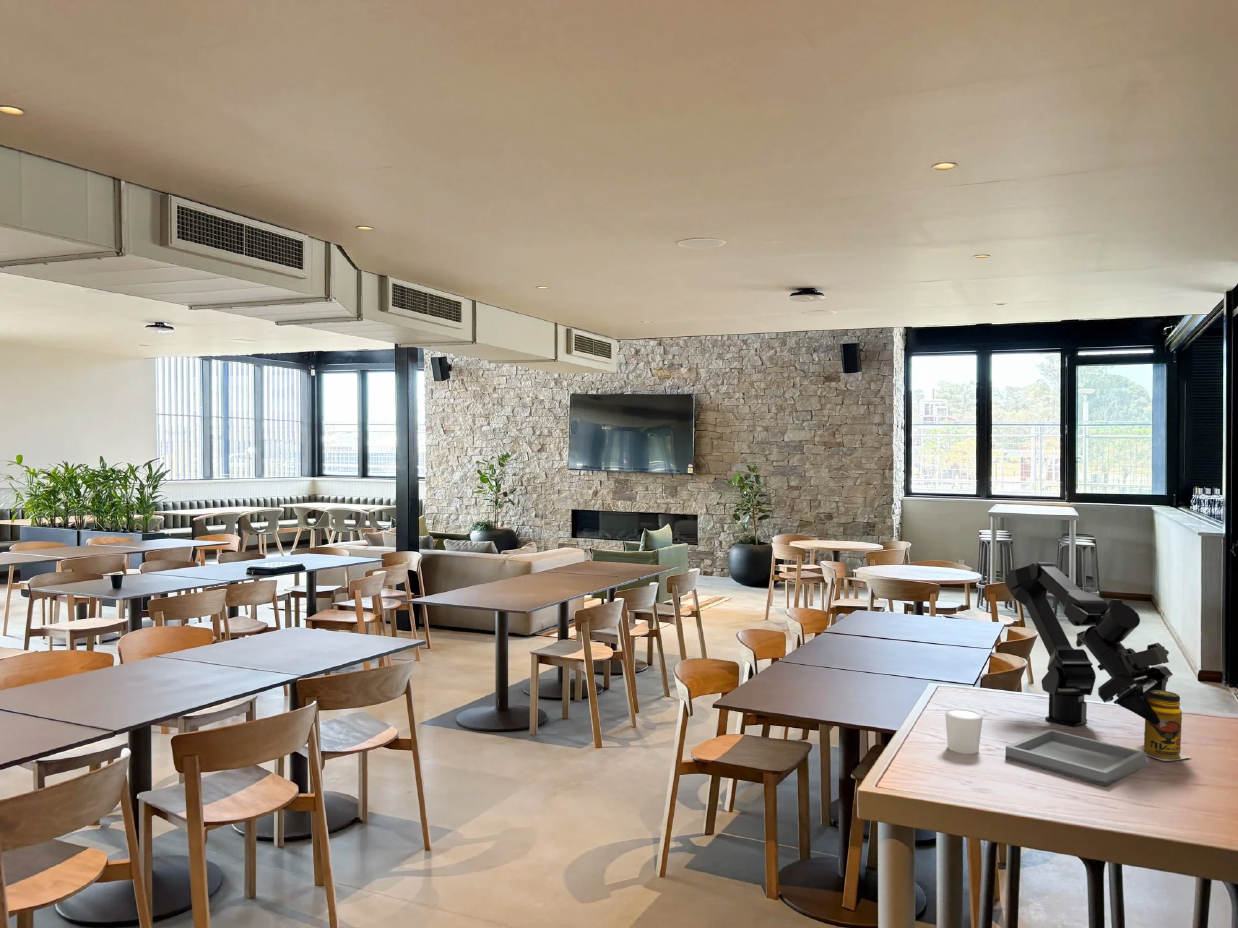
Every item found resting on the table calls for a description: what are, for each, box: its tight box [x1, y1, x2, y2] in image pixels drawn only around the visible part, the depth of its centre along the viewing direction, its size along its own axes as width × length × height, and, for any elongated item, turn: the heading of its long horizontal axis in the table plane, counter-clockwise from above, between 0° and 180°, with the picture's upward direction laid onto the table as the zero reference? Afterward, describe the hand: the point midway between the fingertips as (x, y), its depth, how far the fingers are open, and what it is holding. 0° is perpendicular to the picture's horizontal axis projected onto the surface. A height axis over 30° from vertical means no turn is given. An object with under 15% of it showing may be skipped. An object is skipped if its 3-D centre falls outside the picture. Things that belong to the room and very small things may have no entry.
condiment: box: [1126, 690, 1192, 762], centre depth 176 cm, size 7×8×12 cm
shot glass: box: [944, 708, 984, 755], centre depth 177 cm, size 7×7×7 cm
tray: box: [1004, 728, 1147, 787], centre depth 170 cm, size 18×18×2 cm
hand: (1166, 721), depth 174 cm, fingers closed on condiment, 6 cm apart
